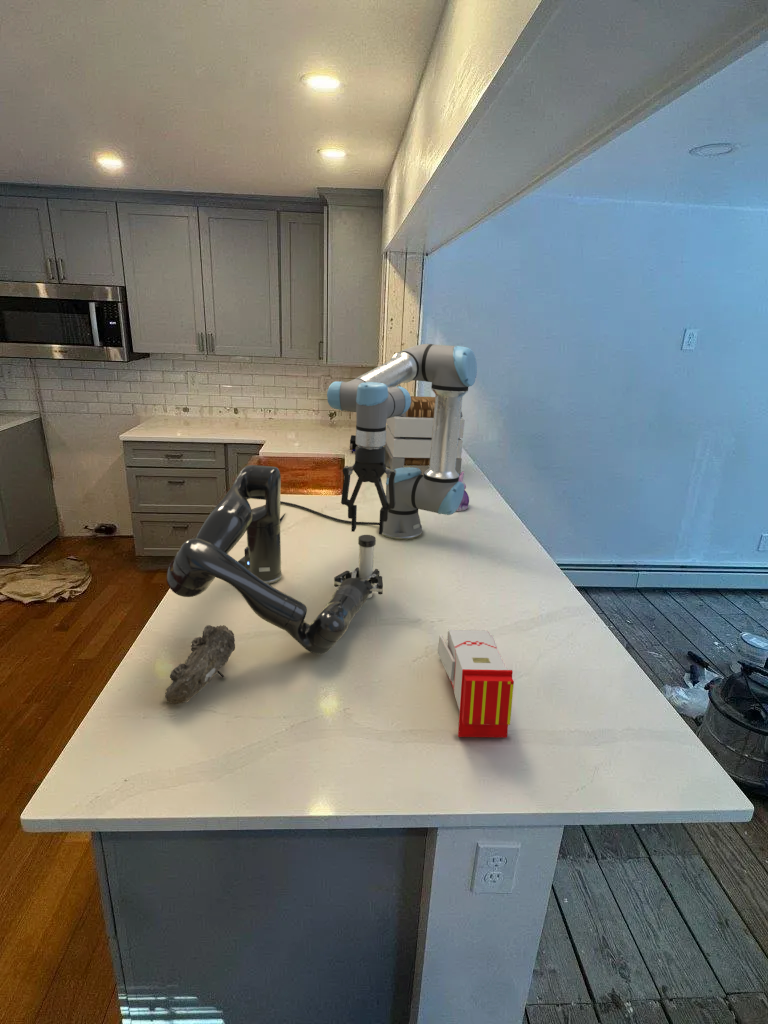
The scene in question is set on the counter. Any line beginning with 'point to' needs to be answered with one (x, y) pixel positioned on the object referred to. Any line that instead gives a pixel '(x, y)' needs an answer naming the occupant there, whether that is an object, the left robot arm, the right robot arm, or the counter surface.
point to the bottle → (366, 562)
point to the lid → (366, 540)
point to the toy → (478, 682)
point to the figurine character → (353, 443)
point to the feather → (281, 518)
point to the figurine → (465, 498)
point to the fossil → (201, 663)
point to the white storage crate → (414, 436)
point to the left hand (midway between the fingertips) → (368, 570)
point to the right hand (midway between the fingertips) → (367, 530)
